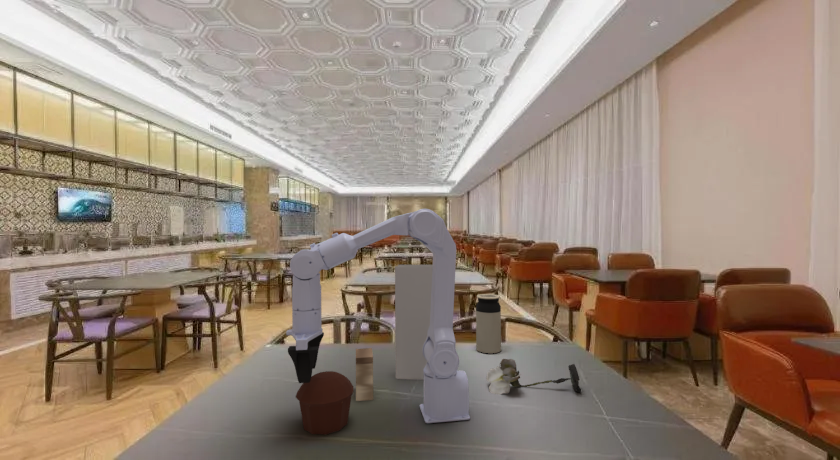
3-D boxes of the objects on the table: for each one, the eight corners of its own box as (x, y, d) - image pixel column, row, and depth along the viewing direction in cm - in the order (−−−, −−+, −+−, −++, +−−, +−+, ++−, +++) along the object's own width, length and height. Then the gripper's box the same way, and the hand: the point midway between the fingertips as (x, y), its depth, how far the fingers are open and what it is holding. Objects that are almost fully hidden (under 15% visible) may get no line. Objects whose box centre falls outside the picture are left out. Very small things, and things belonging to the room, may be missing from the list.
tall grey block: (449, 372, 106) (448, 264, 106) (449, 380, 100) (448, 266, 101) (398, 371, 107) (398, 264, 107) (395, 378, 102) (395, 266, 102)
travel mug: (494, 355, 120) (493, 298, 120) (472, 351, 125) (471, 296, 125) (505, 349, 126) (504, 295, 126) (483, 345, 131) (483, 293, 131)
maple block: (372, 387, 96) (371, 348, 96) (373, 399, 89) (373, 356, 89) (356, 388, 95) (355, 348, 96) (355, 401, 89) (355, 357, 89)
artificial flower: (586, 404, 89) (583, 367, 87) (489, 409, 93) (484, 373, 90) (576, 380, 98) (574, 345, 95) (487, 385, 101) (483, 352, 99)
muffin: (332, 405, 86) (332, 361, 86) (365, 420, 79) (365, 372, 79) (284, 426, 77) (284, 377, 77) (317, 445, 70) (316, 391, 70)
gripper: (293, 302, 85) (293, 363, 84) (278, 316, 70) (279, 390, 70) (325, 301, 86) (326, 362, 85) (318, 315, 71) (318, 388, 71)
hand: (307, 375), depth 78 cm, fingers open, 7 cm apart
